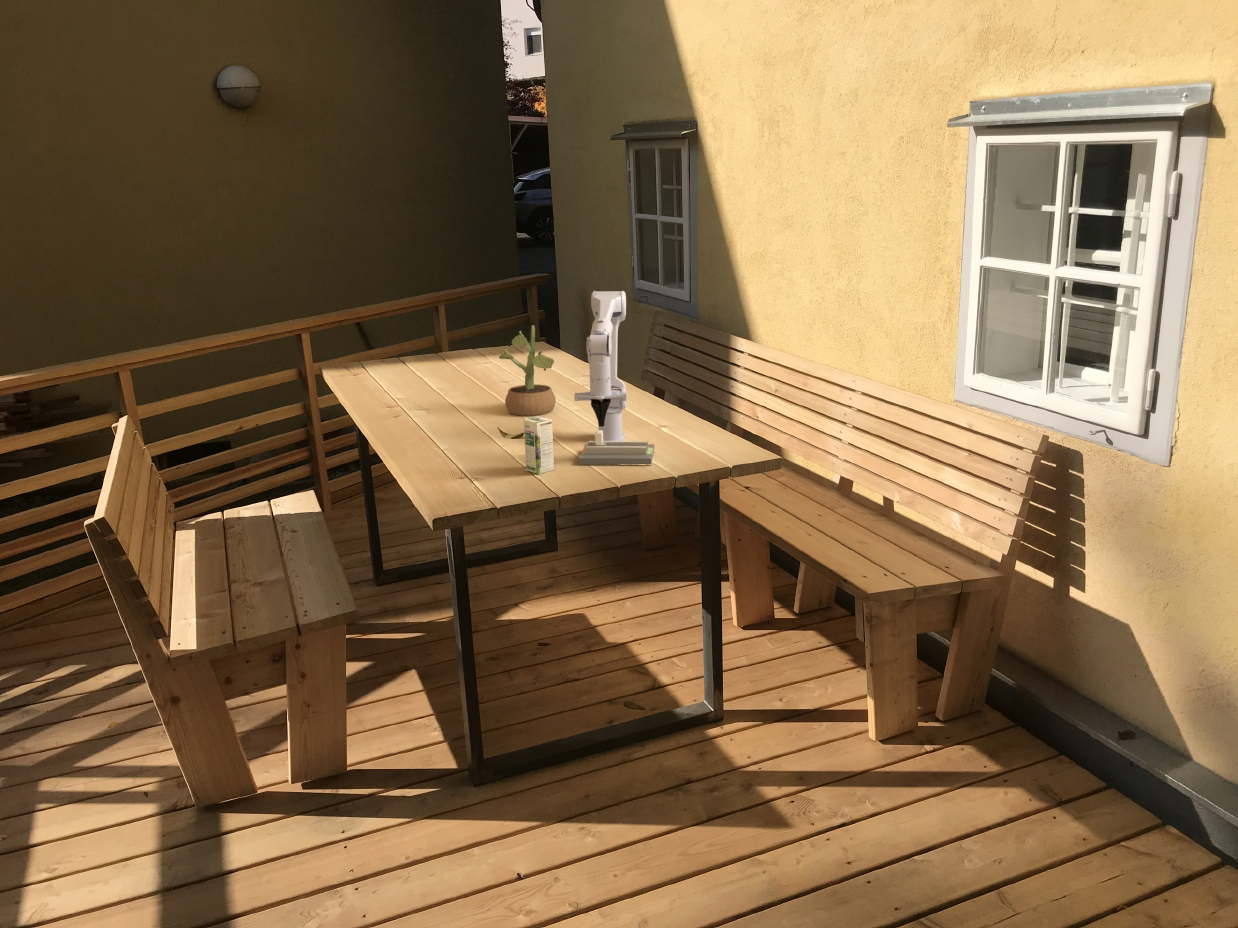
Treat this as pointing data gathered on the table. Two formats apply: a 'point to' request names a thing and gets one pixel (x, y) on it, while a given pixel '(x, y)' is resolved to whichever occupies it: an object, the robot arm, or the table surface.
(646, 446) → the breaker panel
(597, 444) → the breaker handle
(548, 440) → the syrup box
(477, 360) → the table surface
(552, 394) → the potted plant
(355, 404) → the table surface
